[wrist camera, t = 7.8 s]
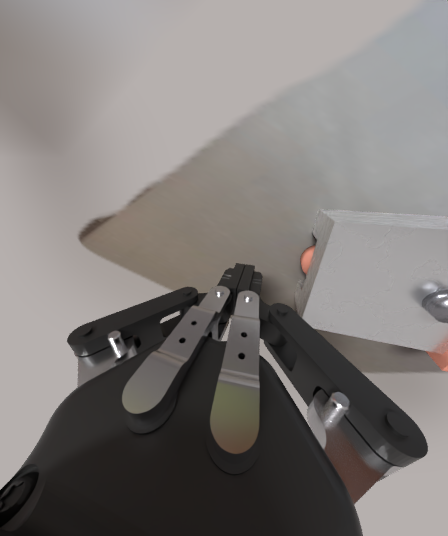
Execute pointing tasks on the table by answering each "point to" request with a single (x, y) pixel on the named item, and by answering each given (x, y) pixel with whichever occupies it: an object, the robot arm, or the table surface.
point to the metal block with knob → (379, 278)
